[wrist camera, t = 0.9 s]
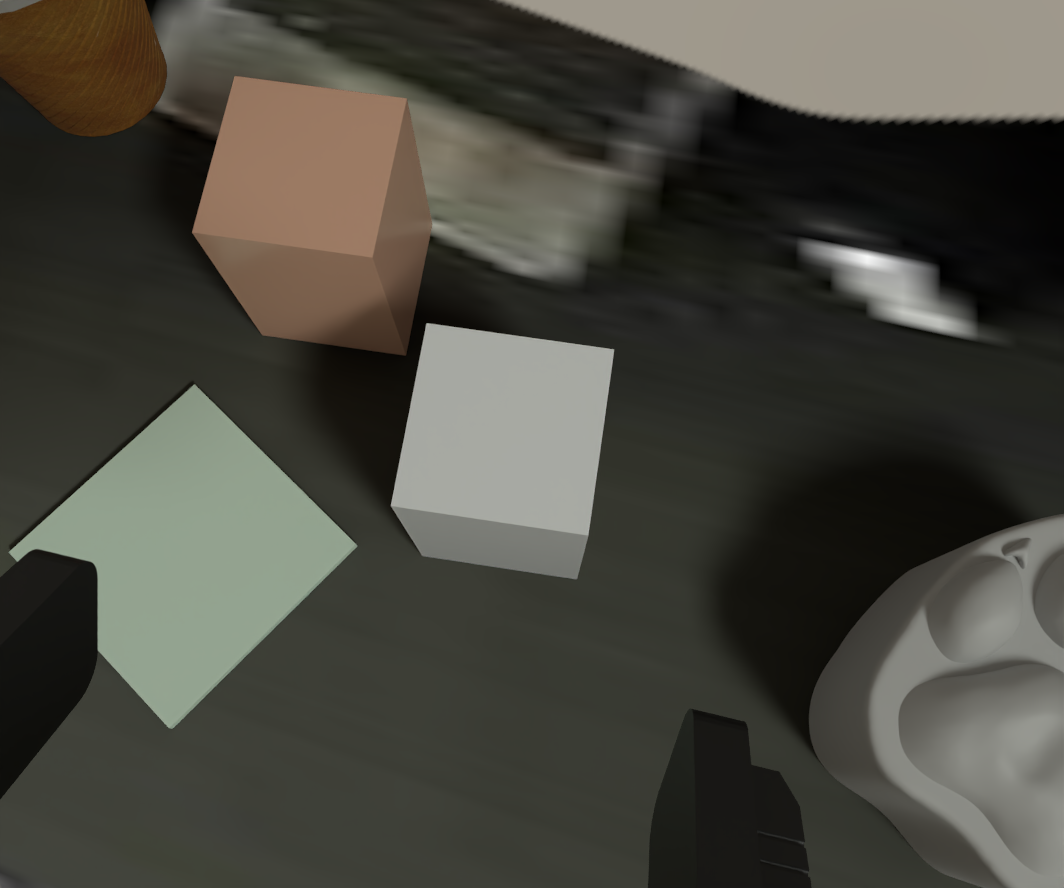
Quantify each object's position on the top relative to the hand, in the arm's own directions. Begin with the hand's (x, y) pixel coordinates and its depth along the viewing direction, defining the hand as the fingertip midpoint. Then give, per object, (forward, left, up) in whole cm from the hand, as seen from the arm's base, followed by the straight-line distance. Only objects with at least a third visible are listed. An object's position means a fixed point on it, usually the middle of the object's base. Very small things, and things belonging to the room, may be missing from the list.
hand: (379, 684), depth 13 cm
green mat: (+14, +4, -27) cm, 31 cm away
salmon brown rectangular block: (+18, -9, -27) cm, 34 cm away
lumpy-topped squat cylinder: (-13, -14, -28) cm, 34 cm away
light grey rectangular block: (+6, -7, -27) cm, 29 cm away
